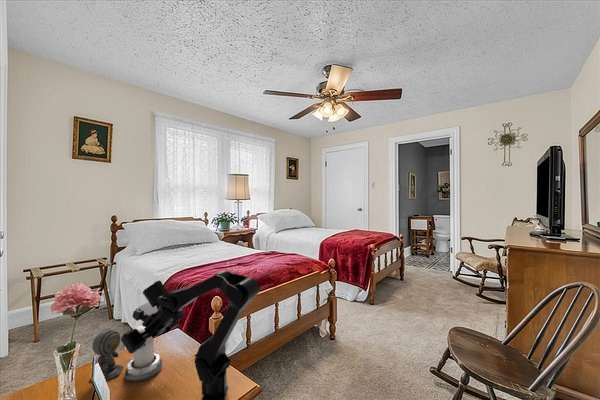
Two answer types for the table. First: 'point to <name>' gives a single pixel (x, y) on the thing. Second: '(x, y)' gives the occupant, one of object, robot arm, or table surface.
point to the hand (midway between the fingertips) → (140, 343)
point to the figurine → (107, 353)
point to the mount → (143, 370)
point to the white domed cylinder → (144, 352)
